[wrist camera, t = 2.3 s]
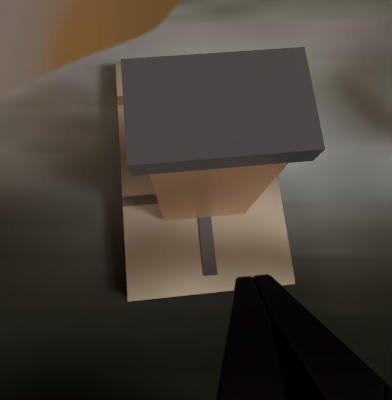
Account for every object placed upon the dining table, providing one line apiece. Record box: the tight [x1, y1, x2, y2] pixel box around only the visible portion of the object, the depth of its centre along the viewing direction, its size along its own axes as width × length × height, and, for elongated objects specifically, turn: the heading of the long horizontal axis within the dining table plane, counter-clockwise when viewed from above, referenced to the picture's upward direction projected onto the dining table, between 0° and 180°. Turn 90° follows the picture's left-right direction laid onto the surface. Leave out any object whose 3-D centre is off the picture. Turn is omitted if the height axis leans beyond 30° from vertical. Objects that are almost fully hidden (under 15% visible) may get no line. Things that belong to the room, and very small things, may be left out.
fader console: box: [115, 62, 295, 301], centre depth 23 cm, size 16×10×2 cm, turn 6°
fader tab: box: [121, 47, 325, 221], centre depth 16 cm, size 4×6×11 cm, turn 96°
